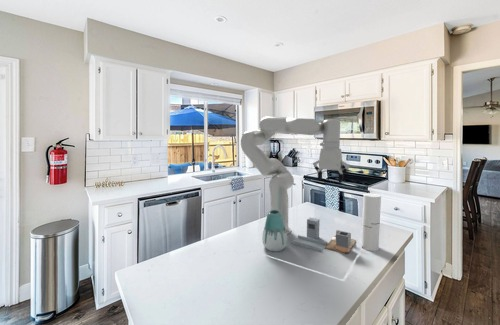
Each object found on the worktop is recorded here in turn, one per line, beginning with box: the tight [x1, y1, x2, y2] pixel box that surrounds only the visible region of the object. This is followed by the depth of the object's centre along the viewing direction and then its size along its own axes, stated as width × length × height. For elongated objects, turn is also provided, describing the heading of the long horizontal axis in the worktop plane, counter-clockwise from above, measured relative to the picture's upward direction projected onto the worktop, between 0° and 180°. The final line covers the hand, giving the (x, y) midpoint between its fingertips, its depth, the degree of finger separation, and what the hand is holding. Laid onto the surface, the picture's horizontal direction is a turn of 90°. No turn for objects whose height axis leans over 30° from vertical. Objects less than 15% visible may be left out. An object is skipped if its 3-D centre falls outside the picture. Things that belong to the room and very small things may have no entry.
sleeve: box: [335, 230, 352, 252], centre depth 110 cm, size 5×5×7 cm
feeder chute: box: [291, 234, 328, 252], centre depth 117 cm, size 14×8×2 cm, turn 54°
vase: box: [261, 209, 288, 252], centre depth 113 cm, size 12×12×18 cm
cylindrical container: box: [360, 192, 382, 252], centre depth 113 cm, size 7×7×25 cm
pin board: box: [324, 229, 357, 255], centre depth 116 cm, size 11×16×6 cm
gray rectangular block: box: [306, 217, 320, 240], centre depth 124 cm, size 5×4×10 cm
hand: (330, 181), depth 118 cm, fingers open, 9 cm apart
